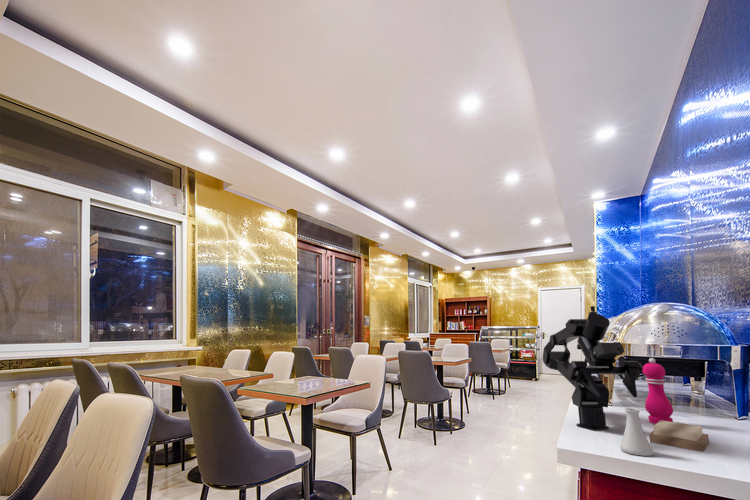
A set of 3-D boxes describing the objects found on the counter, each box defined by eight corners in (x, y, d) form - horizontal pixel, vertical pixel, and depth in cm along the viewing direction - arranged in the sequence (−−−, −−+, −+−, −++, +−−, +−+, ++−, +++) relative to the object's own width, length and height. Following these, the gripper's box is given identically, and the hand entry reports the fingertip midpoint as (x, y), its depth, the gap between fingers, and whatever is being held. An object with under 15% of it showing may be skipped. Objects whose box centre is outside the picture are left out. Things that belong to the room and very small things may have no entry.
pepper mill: (670, 421, 123) (660, 357, 127) (679, 427, 116) (669, 359, 120) (644, 419, 125) (635, 356, 129) (651, 425, 118) (642, 358, 122)
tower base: (649, 442, 101) (647, 426, 102) (659, 434, 109) (656, 419, 110) (703, 451, 94) (700, 434, 94) (709, 442, 101) (706, 426, 102)
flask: (661, 458, 90) (655, 413, 92) (627, 456, 91) (621, 411, 93) (646, 448, 97) (641, 406, 99) (615, 446, 98) (610, 405, 100)
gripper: (567, 332, 111) (589, 377, 98) (634, 332, 110) (665, 377, 97) (559, 358, 117) (579, 403, 104) (622, 358, 116) (650, 403, 103)
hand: (618, 396), depth 102 cm, fingers open, 9 cm apart
